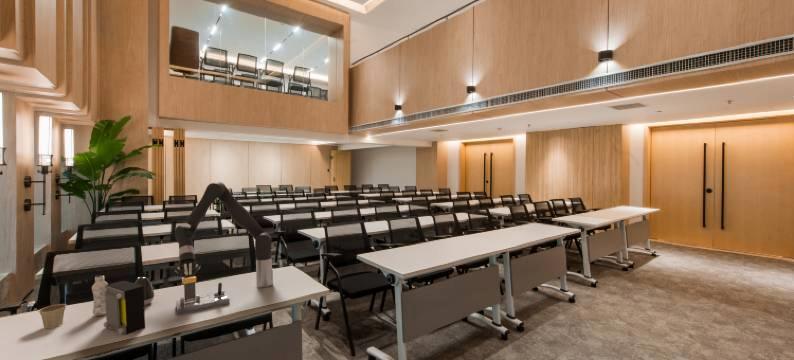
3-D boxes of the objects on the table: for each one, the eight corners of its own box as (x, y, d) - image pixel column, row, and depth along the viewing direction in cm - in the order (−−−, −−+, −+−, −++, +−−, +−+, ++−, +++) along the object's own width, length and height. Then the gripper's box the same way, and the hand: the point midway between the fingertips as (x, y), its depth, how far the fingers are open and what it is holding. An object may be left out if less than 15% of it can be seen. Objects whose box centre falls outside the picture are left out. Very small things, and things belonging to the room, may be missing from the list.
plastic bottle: (90, 318, 168) (89, 279, 167) (95, 313, 174) (93, 275, 173) (107, 316, 171) (105, 277, 170) (111, 311, 177) (109, 273, 176)
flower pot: (66, 319, 168) (65, 302, 167) (68, 324, 162) (68, 307, 161) (38, 326, 160) (37, 308, 160) (40, 332, 154) (39, 314, 154)
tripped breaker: (196, 299, 183) (195, 276, 182) (196, 300, 181) (196, 277, 180) (183, 301, 180) (182, 278, 179) (183, 303, 177) (182, 279, 177)
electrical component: (102, 328, 158) (100, 286, 157) (127, 319, 167) (126, 279, 166) (121, 337, 150) (119, 292, 149) (146, 327, 159) (145, 285, 158)
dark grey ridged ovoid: (148, 299, 192) (147, 273, 192) (158, 302, 187) (157, 275, 187) (127, 305, 184) (126, 278, 183) (136, 309, 178) (135, 281, 178)
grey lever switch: (225, 295, 196) (225, 276, 196) (229, 303, 185) (229, 282, 184) (176, 306, 183) (175, 284, 182) (177, 315, 171) (176, 292, 171)
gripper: (173, 253, 187) (174, 281, 178) (200, 249, 195) (203, 276, 185) (173, 260, 192) (174, 288, 182) (199, 257, 199) (202, 283, 190)
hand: (189, 282), depth 184 cm, fingers closed
